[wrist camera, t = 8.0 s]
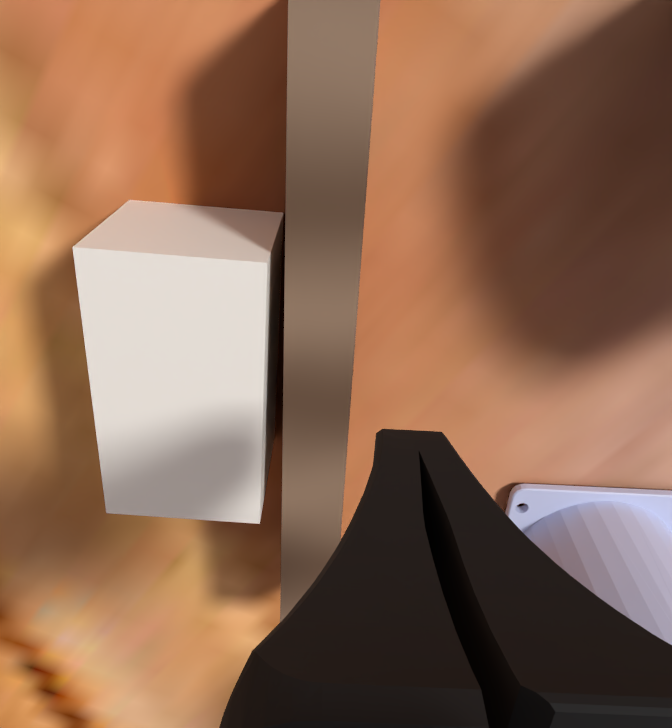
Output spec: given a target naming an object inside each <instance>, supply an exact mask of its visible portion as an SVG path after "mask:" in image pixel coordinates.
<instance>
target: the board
mask: <svg viewBox="0 0 672 728" xmlns="http://www.w3.org/2000/svg"><path fill="white" fill-rule="evenodd" d="M379 12H380V0H288V50H287V129H286V209H285V289H284V368H283V448H282V528H281V607H280V622H281V621H282V620H283V619H284V618H285V617H286V616H287V615H288V613H289V612H290V611H291V610H292V609H293V607H294V606H295V605H296V604H297V602H298V601H299V600H300V599H301V597H302V596H303V595H304V594H305V592H306V591H307V590H308V589H309V588H310V586H311V585H312V584H313V582H314V581H315V580H316V578H317V577H318V575H319V574H320V573H321V571H322V570H323V568H324V566H325V565H326V563H327V562H328V560H329V559H330V557H331V556H332V554H333V553H334V551H335V549H336V548H337V546H338V544H339V543H340V538H341V524H342V511H343V497H344V484H345V470H346V457H347V443H348V430H349V416H350V403H351V389H352V376H353V362H354V349H355V335H356V322H357V308H358V295H359V281H360V268H361V255H362V241H363V228H364V214H365V201H366V187H367V174H368V160H369V147H370V133H371V120H372V106H373V93H374V79H375V66H376V52H377V39H378V25H379Z"/></svg>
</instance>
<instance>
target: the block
mask: <svg viewBox="0 0 672 728" xmlns="http://www.w3.org/2000/svg"><path fill="white" fill-rule="evenodd" d="M282 238H283V213H282V212H270V211H258V210H246V209H234V208H222V207H210V206H197V205H185V204H173V203H161V202H149V201H137V200H129V201H127V202H126V203H125V204H124V205H123V206H121V207H120V208H119V209H118V210H117V211H115V212H114V213H113V214H112V215H111V216H109V217H108V218H107V219H106V220H105V221H103V222H102V223H101V224H100V225H99V226H97V227H96V228H95V229H94V230H92V231H91V232H90V233H89V234H88V235H86V236H85V237H84V238H83V239H82V240H80V241H79V242H78V243H77V244H76V245H74V246H73V255H74V263H75V271H76V279H77V287H78V295H79V302H80V310H81V318H82V326H83V334H84V342H85V350H86V358H87V365H88V373H89V381H90V389H91V397H92V405H93V413H94V420H95V428H96V436H97V444H98V452H99V460H100V468H101V475H102V483H103V491H104V499H105V507H106V513H111V514H126V515H140V516H154V517H169V518H183V519H197V520H212V521H226V522H240V523H254V524H260V520H261V514H262V508H263V502H264V496H265V490H266V484H267V479H268V473H269V467H270V461H271V455H272V449H273V443H274V438H275V413H276V388H277V363H278V338H279V313H280V288H281V263H282Z"/></svg>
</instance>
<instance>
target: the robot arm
mask: <svg viewBox="0 0 672 728" xmlns="http://www.w3.org/2000/svg"><path fill="white" fill-rule="evenodd" d="M521 503H525V504H524V505H523V506H519V507H518V506H517V505H519V504H521ZM220 728H672V491H670V490H649V489H628V488H608V487H587V486H566V485H545V484H519V485H516V486H515V487H514V488H512V490H511V492H510V495H509V499H508V504H507V508H506V512H505V513H504V512H503V510H502V509H501V508H500V507H499V506H498V505H497V504H496V502H495V501H494V500H493V499H492V497H491V496H490V495H489V494H488V493H487V491H486V490H485V489H484V488H483V486H482V485H481V484H480V483H479V482H478V480H477V479H476V478H475V476H474V475H473V474H472V472H471V471H470V470H469V468H468V467H467V466H466V464H465V463H464V462H463V460H462V459H461V458H460V456H459V455H458V453H457V452H456V451H455V449H454V448H453V446H452V445H451V443H450V442H449V441H448V439H447V438H446V436H445V435H444V434H443V433H442V432H434V431H413V430H393V429H382V430H380V431H379V432H377V433H376V441H375V451H374V461H373V467H372V471H371V474H370V477H369V480H368V482H367V485H366V488H365V491H364V494H363V496H362V498H361V501H360V503H359V505H358V507H357V509H356V512H355V514H354V516H353V518H352V520H351V522H350V524H349V526H348V528H347V530H346V532H345V534H344V536H343V537H342V539H341V541H340V543H339V544H338V546H337V548H336V549H335V551H334V553H333V554H332V556H331V557H330V559H329V560H328V562H327V563H326V565H325V566H324V568H323V570H322V571H321V573H320V574H319V575H318V577H317V578H316V580H315V581H314V582H313V584H312V585H311V586H310V588H309V589H308V590H307V591H306V592H305V594H304V595H303V596H302V597H301V599H300V600H299V601H298V602H297V604H296V605H295V606H294V607H293V609H292V610H291V611H290V612H289V613H288V615H287V616H286V617H285V618H284V619H283V620H282V621H281V622H280V623H279V624H278V625H277V626H276V627H275V628H274V629H273V630H272V632H271V633H270V634H269V635H268V636H267V637H266V638H265V639H264V640H263V641H262V642H261V643H260V644H259V645H258V646H257V647H256V648H255V649H254V650H253V651H252V653H251V655H250V657H249V659H248V661H247V663H246V665H245V667H244V669H243V671H242V673H241V675H240V677H239V679H238V681H237V683H236V685H235V687H234V690H233V692H232V694H231V696H230V699H229V701H228V704H227V706H226V709H225V712H224V715H223V717H222V721H221V724H220Z"/></svg>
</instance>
